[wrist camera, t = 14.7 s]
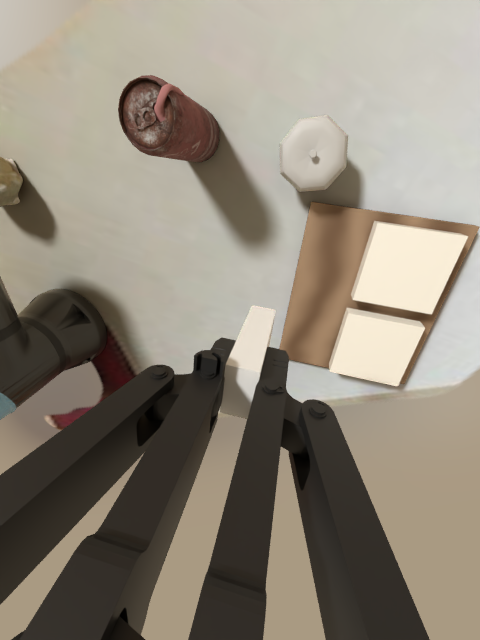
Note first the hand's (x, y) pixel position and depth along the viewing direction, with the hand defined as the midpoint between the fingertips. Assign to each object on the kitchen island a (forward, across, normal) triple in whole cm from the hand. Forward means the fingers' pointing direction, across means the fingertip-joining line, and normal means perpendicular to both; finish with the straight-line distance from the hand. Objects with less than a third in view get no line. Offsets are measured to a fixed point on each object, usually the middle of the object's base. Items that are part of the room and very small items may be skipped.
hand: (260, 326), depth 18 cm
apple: (+27, +1, +11) cm, 29 cm away
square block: (+24, +10, -12) cm, 28 cm away
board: (+26, +12, -6) cm, 30 cm away
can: (+27, -14, +12) cm, 32 cm away
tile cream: (+24, +10, 0) cm, 26 cm away
